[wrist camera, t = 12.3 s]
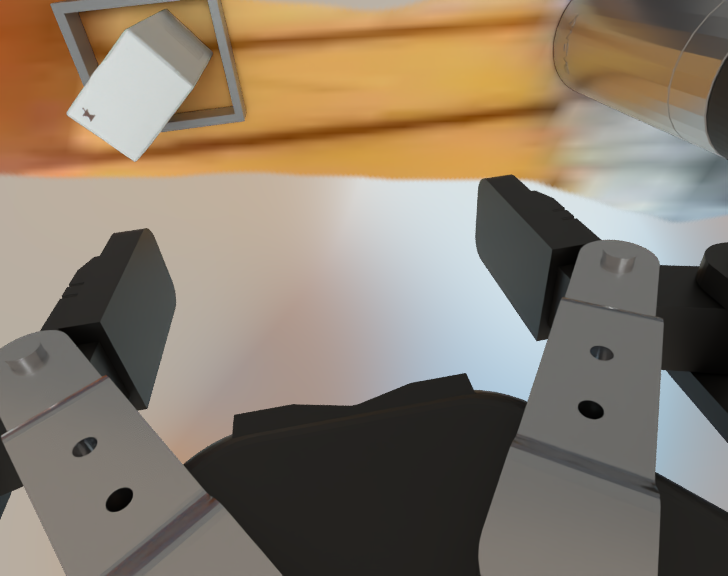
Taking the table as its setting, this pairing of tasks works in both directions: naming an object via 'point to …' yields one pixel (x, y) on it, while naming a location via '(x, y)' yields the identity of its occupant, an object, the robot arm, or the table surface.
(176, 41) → the skincare box
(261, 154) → the table surface
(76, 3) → the frame
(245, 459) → the robot arm
